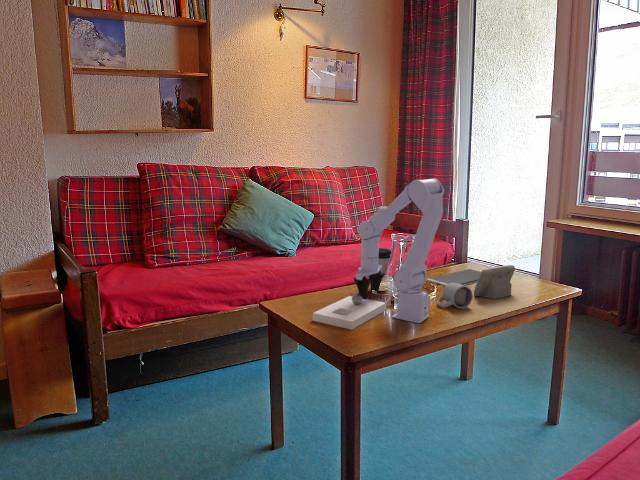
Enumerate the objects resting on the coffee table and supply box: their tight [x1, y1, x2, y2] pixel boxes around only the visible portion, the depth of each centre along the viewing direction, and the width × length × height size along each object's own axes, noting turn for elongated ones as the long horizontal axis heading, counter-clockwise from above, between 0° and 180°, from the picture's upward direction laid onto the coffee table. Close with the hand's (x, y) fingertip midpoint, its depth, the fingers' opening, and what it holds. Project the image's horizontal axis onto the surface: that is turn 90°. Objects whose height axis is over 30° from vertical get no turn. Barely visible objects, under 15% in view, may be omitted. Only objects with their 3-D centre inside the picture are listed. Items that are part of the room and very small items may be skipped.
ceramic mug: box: [436, 283, 474, 309], centre depth 182 cm, size 11×8×8 cm
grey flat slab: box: [425, 268, 481, 288], centre depth 216 cm, size 13×27×2 cm, turn 126°
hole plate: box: [312, 295, 387, 330], centre depth 172 cm, size 14×22×2 cm, turn 146°
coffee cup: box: [378, 247, 392, 276], centre depth 200 cm, size 9×9×15 cm
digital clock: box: [473, 264, 516, 300], centre depth 194 cm, size 16×9×11 cm, turn 109°
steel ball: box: [352, 293, 363, 305], centre depth 175 cm, size 4×4×4 cm
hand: (369, 296), depth 182 cm, fingers open, 7 cm apart
